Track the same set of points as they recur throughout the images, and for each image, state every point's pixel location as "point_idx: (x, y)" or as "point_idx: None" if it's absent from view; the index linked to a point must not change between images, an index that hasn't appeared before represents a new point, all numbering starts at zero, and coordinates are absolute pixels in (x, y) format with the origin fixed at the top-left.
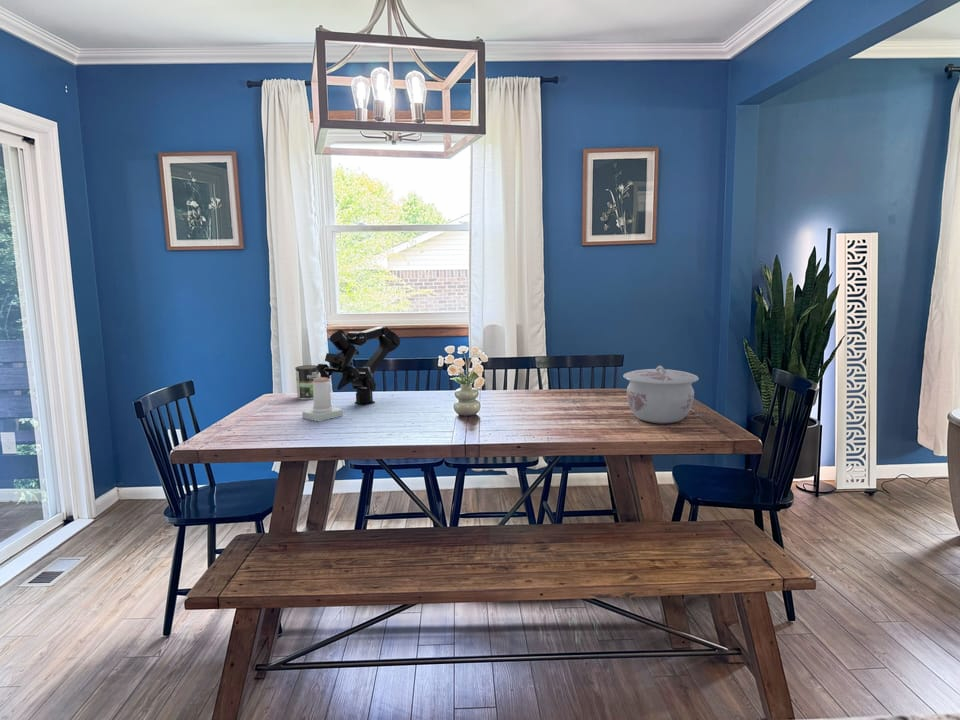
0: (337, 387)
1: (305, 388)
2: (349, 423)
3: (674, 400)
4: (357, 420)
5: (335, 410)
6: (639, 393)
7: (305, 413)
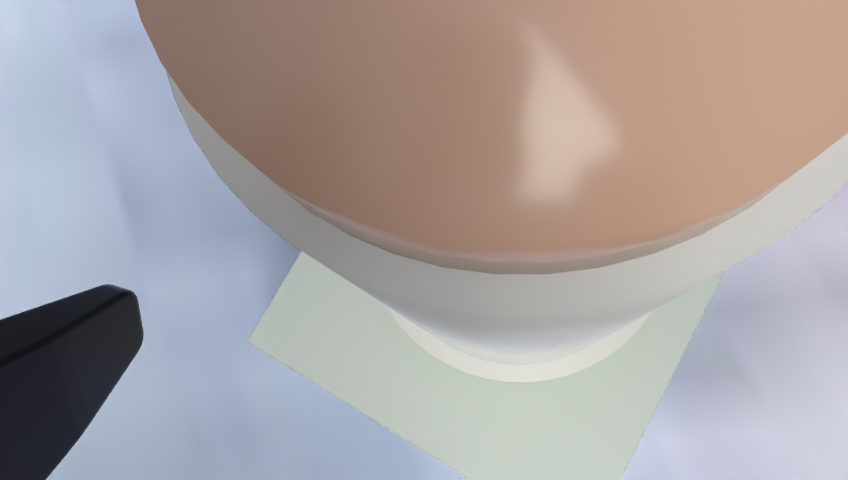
0: (103, 298)
1: None
2: (102, 44)
3: None
4: (52, 170)
5: (332, 277)
6: None
7: None
